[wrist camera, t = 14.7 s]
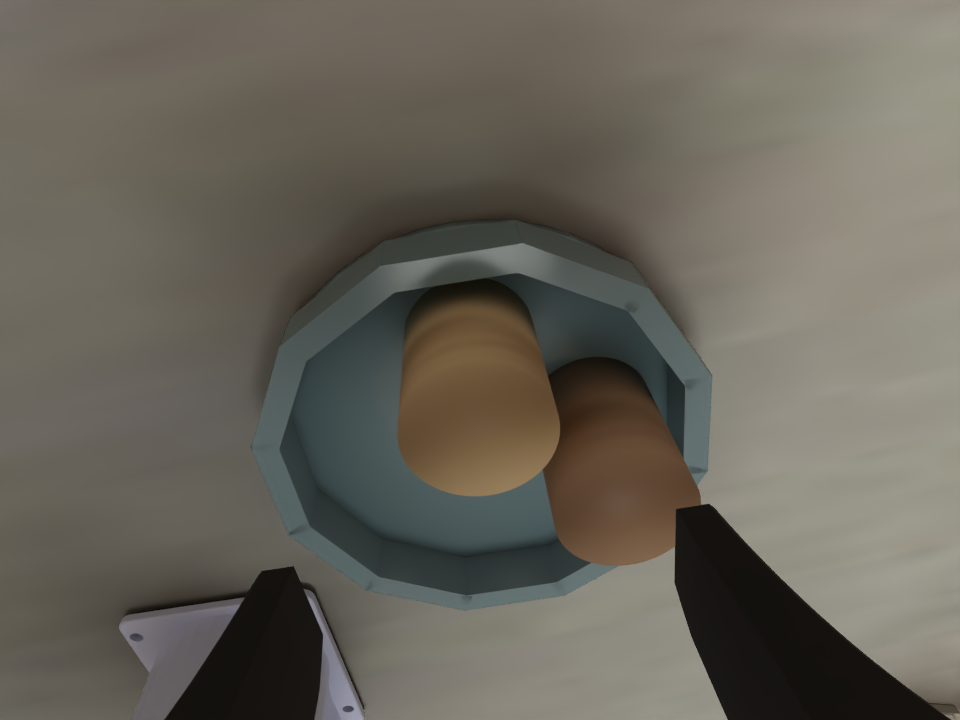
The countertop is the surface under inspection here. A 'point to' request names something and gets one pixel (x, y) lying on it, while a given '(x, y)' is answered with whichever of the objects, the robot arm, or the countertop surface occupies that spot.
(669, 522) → the walnut bead
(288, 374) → the ring dish
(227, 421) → the countertop surface
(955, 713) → the skyscraper
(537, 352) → the oak bead
